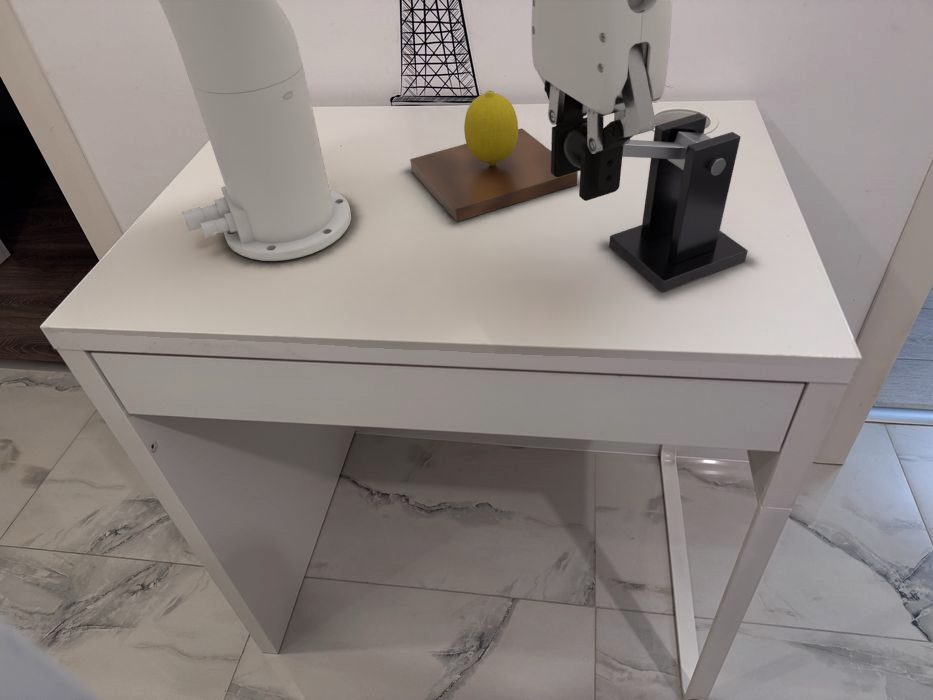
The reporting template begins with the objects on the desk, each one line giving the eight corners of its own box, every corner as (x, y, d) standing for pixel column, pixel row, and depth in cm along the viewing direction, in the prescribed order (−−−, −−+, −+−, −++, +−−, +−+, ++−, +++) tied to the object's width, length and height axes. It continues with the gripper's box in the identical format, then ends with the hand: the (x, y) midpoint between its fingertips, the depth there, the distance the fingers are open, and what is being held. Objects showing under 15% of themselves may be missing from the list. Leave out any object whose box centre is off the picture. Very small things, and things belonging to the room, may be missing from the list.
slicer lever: (572, 175, 50) (587, 131, 48) (550, 157, 52) (562, 114, 50) (710, 179, 56) (727, 141, 54) (685, 163, 58) (701, 126, 57)
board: (456, 222, 69) (455, 209, 68) (411, 171, 77) (409, 158, 76) (577, 184, 73) (577, 171, 71) (522, 140, 81) (521, 128, 80)
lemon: (519, 176, 71) (518, 101, 66) (466, 179, 72) (461, 104, 66) (517, 151, 75) (516, 78, 70) (467, 153, 76) (462, 81, 70)
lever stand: (662, 292, 59) (683, 166, 51) (608, 246, 64) (620, 125, 56) (745, 261, 61) (778, 136, 53) (687, 219, 67) (709, 99, 59)
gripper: (752, -86, 36) (694, 219, 48) (579, -126, 47) (569, 130, 59) (631, -61, 34) (603, 251, 46) (480, -110, 45) (491, 152, 57)
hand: (584, 180), depth 53 cm, fingers closed on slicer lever, 3 cm apart
